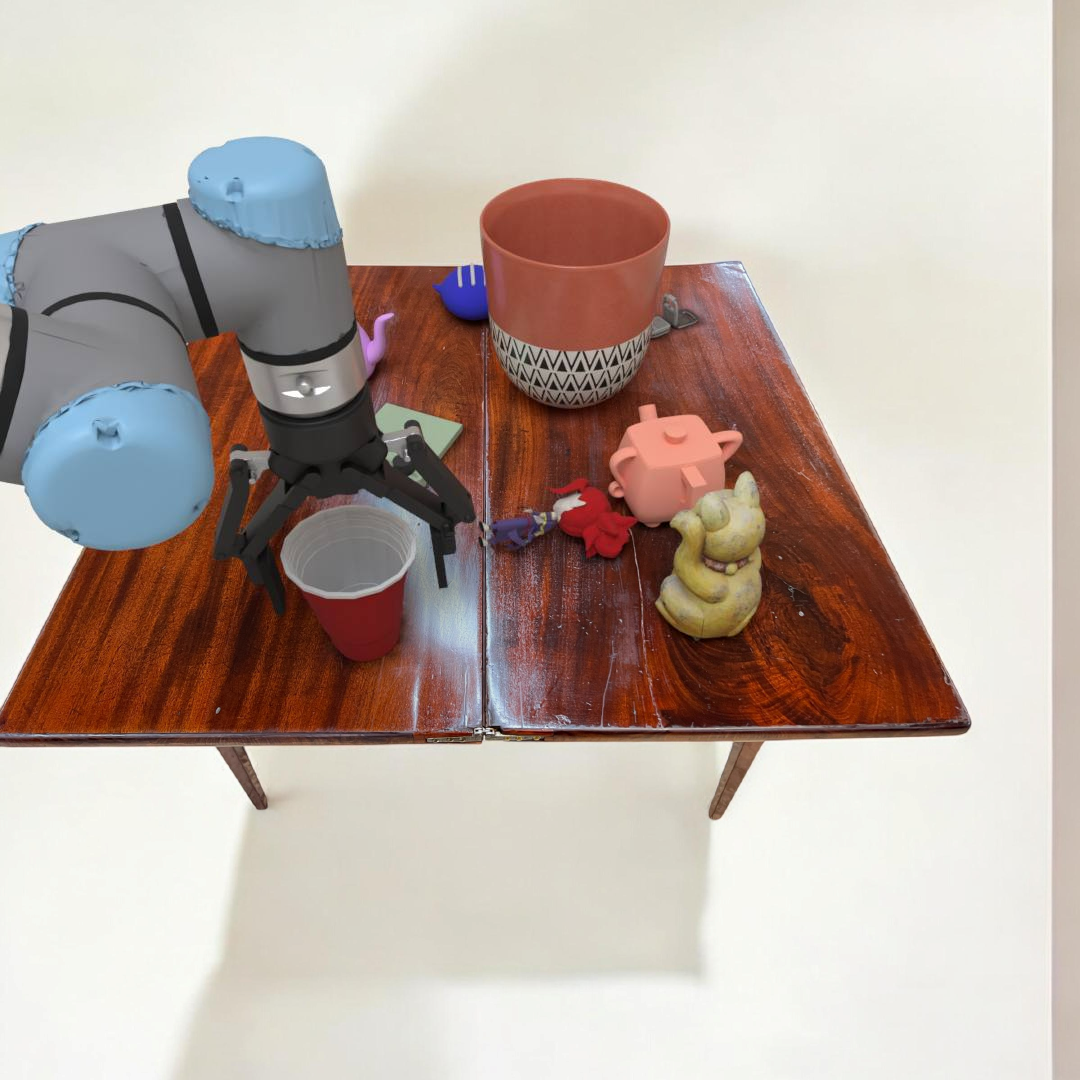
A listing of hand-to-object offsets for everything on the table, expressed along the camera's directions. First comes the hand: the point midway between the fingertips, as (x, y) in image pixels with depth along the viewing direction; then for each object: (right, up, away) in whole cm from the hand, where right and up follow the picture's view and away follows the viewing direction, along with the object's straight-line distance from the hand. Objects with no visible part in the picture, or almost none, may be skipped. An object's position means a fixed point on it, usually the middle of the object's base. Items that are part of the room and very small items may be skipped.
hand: (362, 589), depth 73 cm
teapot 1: (-11, +24, +32) cm, 41 cm away
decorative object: (+6, +35, +42) cm, 55 cm away
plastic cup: (0, -4, +5) cm, 6 cm away
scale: (-1, +14, +22) cm, 26 cm away
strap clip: (+32, +32, +39) cm, 60 cm away
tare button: (+1, +11, +16) cm, 20 cm away
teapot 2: (+29, +9, +17) cm, 35 cm away
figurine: (+17, +3, +12) cm, 21 cm away
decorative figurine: (+31, -3, +6) cm, 32 cm away
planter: (+19, +22, +30) cm, 42 cm away
